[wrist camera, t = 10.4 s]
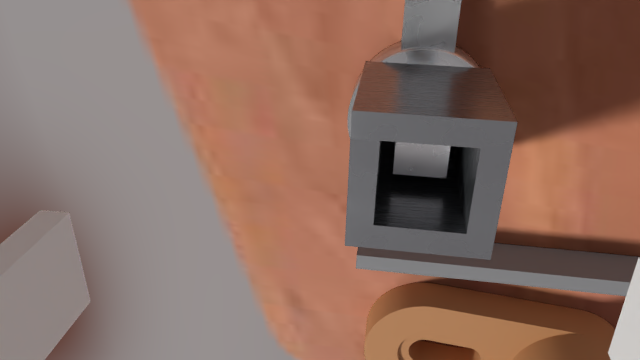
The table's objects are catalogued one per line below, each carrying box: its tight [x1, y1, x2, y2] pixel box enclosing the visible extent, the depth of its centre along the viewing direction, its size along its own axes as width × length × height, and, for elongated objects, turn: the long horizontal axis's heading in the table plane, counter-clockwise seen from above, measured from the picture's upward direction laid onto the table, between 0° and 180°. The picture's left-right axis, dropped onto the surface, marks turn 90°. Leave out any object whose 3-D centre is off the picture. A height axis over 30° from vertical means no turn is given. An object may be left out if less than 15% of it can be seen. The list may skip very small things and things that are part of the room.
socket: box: [345, 61, 517, 260], centre depth 27 cm, size 6×6×8 cm
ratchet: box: [348, 0, 479, 178], centre depth 27 cm, size 21×8×7 cm, turn 179°
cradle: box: [356, 243, 639, 296], centre depth 38 cm, size 14×18×3 cm
